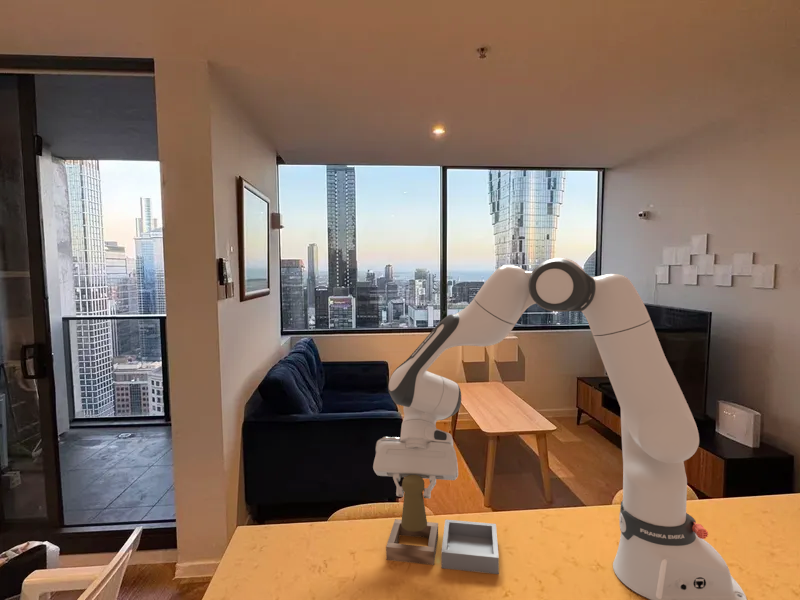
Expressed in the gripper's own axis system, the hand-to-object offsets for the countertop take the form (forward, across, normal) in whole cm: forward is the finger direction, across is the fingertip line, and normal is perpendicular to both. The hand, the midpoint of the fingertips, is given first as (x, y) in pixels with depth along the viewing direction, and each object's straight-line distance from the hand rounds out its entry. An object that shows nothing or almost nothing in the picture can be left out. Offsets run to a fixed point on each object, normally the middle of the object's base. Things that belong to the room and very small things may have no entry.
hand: (413, 496), depth 95 cm
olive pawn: (+4, 0, +5) cm, 7 cm away
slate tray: (+8, +13, +9) cm, 18 cm away
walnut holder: (+8, 0, +9) cm, 12 cm away
